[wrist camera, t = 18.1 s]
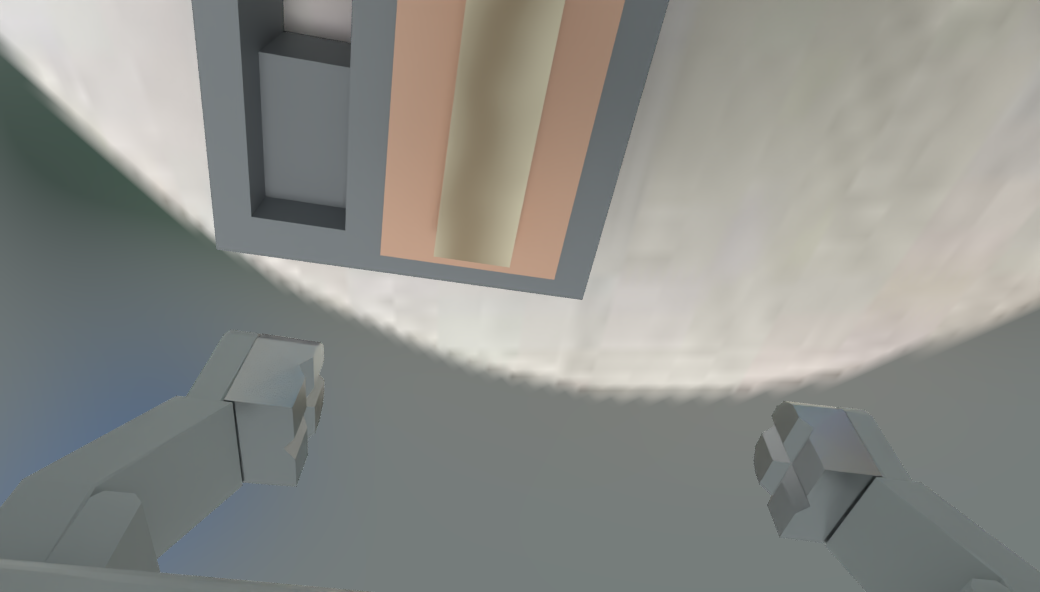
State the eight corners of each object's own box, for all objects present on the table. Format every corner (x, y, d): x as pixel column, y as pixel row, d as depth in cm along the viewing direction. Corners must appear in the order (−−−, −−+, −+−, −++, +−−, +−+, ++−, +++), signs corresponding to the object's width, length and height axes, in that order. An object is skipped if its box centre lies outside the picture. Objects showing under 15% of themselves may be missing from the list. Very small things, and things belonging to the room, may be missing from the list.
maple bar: (565, -32, 28) (570, -23, 26) (509, 243, 36) (509, 267, 34) (473, -51, 27) (471, -43, 25) (437, 232, 35) (433, 256, 33)
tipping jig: (662, -105, 32) (697, -96, 27) (571, 241, 44) (582, 301, 38) (234, -199, 30) (167, -212, 24) (256, 194, 41) (215, 251, 35)
